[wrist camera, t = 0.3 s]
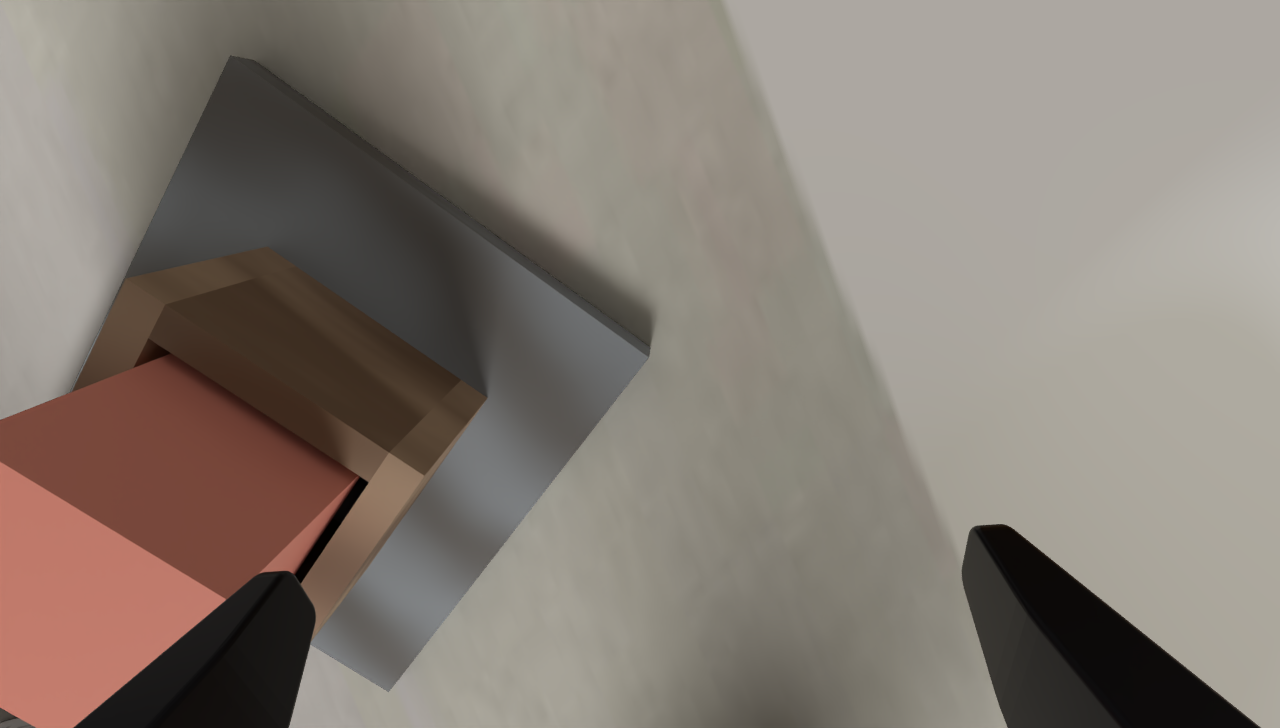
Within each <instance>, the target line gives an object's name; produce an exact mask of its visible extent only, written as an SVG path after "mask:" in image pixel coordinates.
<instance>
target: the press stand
mask: <svg viewBox="0 0 1280 728" xmlns="http://www.w3.org/2000/svg"><path fill="white" fill-rule="evenodd" d="M171 353H172V354H173V355H175V356H176V357H178V358H179V359H181V360H182V361H184V362H185V363H187V364H188V365H190V366H192V367H193V368H195V369H196V370H198V371H199V372H201V373H202V374H204V375H205V376H207V377H208V378H210V379H211V380H213V381H215V382H216V383H218V384H219V385H221V386H222V387H224V388H225V389H227V390H228V391H230V392H231V393H233V394H234V395H236V396H238V397H239V398H241V399H242V400H244V401H245V402H247V403H248V404H250V405H251V406H253V407H254V408H256V409H257V410H259V411H261V412H262V413H264V414H265V415H267V416H268V417H270V418H271V419H273V420H274V421H276V422H277V423H279V424H280V425H282V426H284V427H285V428H287V429H288V430H290V431H291V432H293V433H294V434H296V435H297V436H299V437H300V438H302V439H303V440H305V441H307V442H308V443H310V444H311V445H313V446H314V447H316V448H317V449H319V450H320V451H322V452H323V453H325V454H326V455H328V456H329V457H331V458H333V459H334V460H336V461H337V462H339V463H340V464H342V465H343V466H345V467H346V468H348V469H349V470H351V471H352V472H354V473H356V474H357V475H359V476H360V478H359V479H358V481H357V482H356V484H355V485H354V487H353V488H352V490H351V491H350V493H349V494H348V496H347V497H346V499H345V500H344V502H343V503H342V505H341V506H340V508H339V509H338V511H337V512H336V514H335V515H334V517H333V518H332V520H331V521H330V523H329V524H328V526H327V527H326V529H325V530H324V532H323V533H322V535H321V536H320V538H319V539H318V541H317V542H316V544H315V546H314V547H313V549H312V550H311V552H310V553H309V555H308V556H307V558H306V559H305V561H304V562H303V564H302V565H301V567H300V568H299V570H298V571H297V573H296V574H295V576H296V578H297V580H298V581H299V583H300V584H301V586H302V587H303V589H304V591H305V592H306V594H307V595H308V597H309V599H310V600H311V602H312V603H313V605H314V608H315V611H316V623H315V628H314V632H313V636H312V640H311V645H312V646H314V647H316V648H317V649H319V650H321V651H322V652H324V653H325V654H327V655H329V656H330V657H332V658H334V659H335V660H337V661H339V662H340V663H342V664H344V665H345V666H347V667H348V668H350V669H352V670H353V671H355V672H357V673H358V674H360V675H362V676H363V677H365V678H366V679H368V680H370V681H371V682H373V683H375V684H376V685H378V686H380V687H381V688H383V689H384V690H386V691H388V692H389V691H390V690H391V689H392V687H393V686H394V685H395V683H396V682H397V681H398V680H399V678H400V677H401V676H402V674H403V673H404V672H405V671H406V669H407V668H408V667H409V665H410V664H411V663H412V662H413V660H414V659H415V658H416V656H417V655H418V654H419V653H420V651H421V650H422V649H423V647H424V646H425V645H426V643H427V642H428V641H429V640H430V638H431V637H432V636H433V634H434V633H435V632H436V631H437V629H438V628H439V627H440V625H441V624H442V623H443V622H444V620H445V619H446V618H447V616H448V615H449V614H450V613H451V611H452V610H453V609H454V607H455V606H456V605H457V604H458V602H459V601H460V600H461V598H462V597H463V596H464V595H465V593H466V592H467V591H468V589H469V588H470V587H471V586H472V584H473V583H474V582H475V580H476V579H477V578H478V577H479V575H480V574H481V573H482V571H483V570H484V569H485V568H486V566H487V565H488V564H489V562H490V561H491V560H492V559H493V557H494V556H495V555H496V553H497V552H498V551H499V550H500V548H501V547H502V546H503V544H504V543H505V542H506V541H507V539H508V538H509V537H510V535H511V534H512V533H513V532H514V530H515V529H516V528H517V526H518V525H519V524H520V523H521V521H522V520H523V519H524V517H525V516H526V515H527V514H528V512H529V511H530V510H531V508H532V507H533V506H534V505H535V503H536V502H537V501H538V499H539V498H540V497H541V496H542V494H543V493H544V492H545V490H546V489H547V488H548V487H549V485H550V484H551V483H552V481H553V480H554V479H555V477H556V476H557V475H558V474H559V472H560V471H561V470H562V468H563V467H564V466H565V465H566V463H567V462H568V461H569V459H570V458H571V457H572V456H573V454H574V453H575V452H576V450H577V449H578V448H579V447H580V445H581V444H582V443H583V441H584V440H585V439H586V438H587V436H588V435H589V434H590V432H591V431H592V430H593V429H594V427H595V426H596V425H597V423H598V422H599V421H600V420H601V418H602V417H603V416H604V414H605V413H606V412H607V411H608V409H609V408H610V407H611V405H612V404H613V403H614V402H615V400H616V399H617V398H618V396H619V395H620V394H621V393H622V391H623V390H624V389H625V387H626V386H627V385H628V384H629V382H630V381H631V380H632V378H633V377H634V376H635V375H636V373H637V372H638V371H639V369H640V368H641V367H642V366H643V364H644V363H645V362H646V360H647V359H648V358H649V354H650V347H649V346H648V345H646V344H645V343H643V342H642V341H641V340H639V339H638V338H637V337H635V336H634V335H632V334H631V333H630V332H628V331H627V330H626V329H624V328H623V327H621V326H620V325H619V324H617V323H616V322H614V321H613V320H612V319H610V318H609V317H608V316H606V315H605V314H603V313H602V312H601V311H599V310H598V309H597V308H595V307H594V306H592V305H591V304H590V303H588V302H587V301H585V300H584V299H583V298H581V297H580V296H579V295H577V294H576V293H574V292H573V291H572V290H570V289H569V288H568V287H566V286H565V285H563V284H562V283H561V282H559V281H558V280H556V279H555V278H554V277H552V276H551V275H550V274H548V273H547V272H545V271H544V270H543V269H541V268H540V267H539V266H537V265H536V264H534V263H533V262H532V261H530V260H529V259H527V258H526V257H525V256H523V255H522V254H521V253H519V252H518V251H516V250H515V249H514V248H512V247H511V246H510V245H508V244H507V243H505V242H504V241H503V240H501V239H500V238H498V237H497V236H496V235H494V234H493V233H492V232H490V231H489V230H487V229H486V228H485V227H483V226H482V225H481V224H479V223H478V222H476V221H475V220H474V219H472V218H471V217H470V216H468V215H467V214H465V213H464V212H463V211H461V210H460V209H458V208H457V207H456V206H454V205H453V204H452V203H450V202H449V201H447V200H446V199H445V198H443V197H442V196H441V195H439V194H438V193H436V192H435V191H434V190H432V189H431V188H429V187H428V186H427V185H425V184H424V183H423V182H421V181H420V180H418V179H417V178H416V177H414V176H413V175H412V174H410V173H409V172H407V171H406V170H405V169H403V168H402V167H400V166H399V165H398V164H396V163H395V162H394V161H392V160H391V159H389V158H388V157H387V156H385V155H384V154H383V153H381V152H380V151H378V150H377V149H376V148H374V147H373V146H371V145H370V144H369V143H367V142H366V141H365V140H363V139H362V138H360V137H359V136H358V135H356V134H355V133H354V132H352V131H351V130H349V129H348V128H347V127H345V126H344V125H342V124H341V123H340V122H338V121H337V120H336V119H334V118H333V117H331V116H330V115H329V114H327V113H326V112H325V111H323V110H322V109H320V108H319V107H318V106H316V105H315V104H313V103H312V102H311V101H309V100H308V99H307V98H305V97H304V96H302V95H301V94H300V93H298V92H297V91H296V90H294V89H293V88H291V87H290V86H289V85H287V84H286V83H284V82H283V81H282V80H280V79H279V78H278V77H276V76H275V75H273V74H272V73H271V72H269V71H268V70H267V69H265V68H264V67H262V66H261V65H260V64H258V63H257V62H256V61H254V60H249V59H245V58H240V57H235V56H230V57H229V60H228V62H227V64H226V66H225V68H224V70H223V72H222V74H221V76H220V78H219V81H218V83H217V85H216V87H215V89H214V91H213V93H212V95H211V97H210V99H209V102H208V104H207V106H206V108H205V110H204V112H203V114H202V116H201V118H200V120H199V122H198V125H197V127H196V129H195V131H194V133H193V135H192V137H191V139H190V141H189V143H188V146H187V148H186V150H185V152H184V154H183V156H182V158H181V160H180V162H179V164H178V167H177V169H176V171H175V173H174V175H173V177H172V179H171V181H170V183H169V185H168V187H167V190H166V192H165V194H164V196H163V198H162V200H161V202H160V204H159V206H158V208H157V211H156V213H155V215H154V217H153V219H152V221H151V223H150V225H149V227H148V229H147V232H146V234H145V236H144V238H143V240H142V242H141V244H140V246H139V248H138V250H137V253H136V255H135V257H134V259H133V261H132V263H131V265H130V267H129V269H128V271H127V273H126V276H125V278H124V280H123V282H122V284H121V286H120V288H119V290H118V292H117V294H116V297H115V299H114V301H113V303H112V305H111V307H110V309H109V311H108V313H107V315H106V318H105V320H104V322H103V324H102V326H101V328H100V330H99V332H98V334H97V336H96V338H95V341H94V343H93V345H92V347H91V349H90V351H89V353H88V355H87V357H86V359H85V362H84V364H83V366H82V368H81V370H80V372H79V374H78V376H77V378H76V380H75V383H74V385H73V387H72V389H71V391H70V393H71V392H73V391H76V390H79V389H81V388H84V387H86V386H89V385H91V384H94V383H97V382H99V381H102V380H104V379H107V378H109V377H112V376H114V375H117V374H120V373H122V372H125V371H127V370H130V369H132V368H135V367H138V366H140V365H143V364H145V363H148V362H150V361H153V360H155V359H158V358H161V357H163V356H166V355H168V354H171Z"/></svg>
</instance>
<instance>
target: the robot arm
mask: <svg viewBox="0 0 1280 728" xmlns="http://www.w3.org/2000/svg"><path fill="white" fill-rule="evenodd" d="M962 581H963V586H964V590H965V593H966V596H967V600H968V603H969V607H970V610H971V613H972V617H973V620H974V623H975V627H976V630H977V634H978V637H979V640H980V644H981V647H982V650H983V654H984V657H985V660H986V664H987V667H988V671H989V674H990V677H991V681H992V684H993V687H994V690H995V694H996V697H997V700H998V703H999V706H1000V709H1001V711H1002V714H1003V716H1004V719H1005V722H1006V724H1007V727H1008V728H1260V727H1259V726H1258V725H1257V724H1255V723H1254V722H1253V721H1252V720H1251V719H1249V718H1248V717H1247V716H1245V715H1244V714H1243V713H1242V712H1241V711H1239V710H1238V709H1237V708H1236V707H1234V706H1233V705H1232V704H1231V703H1229V702H1228V701H1227V700H1226V699H1224V698H1223V697H1222V696H1221V695H1219V694H1218V693H1217V692H1216V691H1214V690H1213V689H1212V688H1211V687H1209V686H1208V685H1207V684H1206V683H1204V682H1203V681H1202V680H1201V679H1199V678H1198V677H1197V676H1196V675H1195V674H1193V673H1192V672H1191V671H1189V670H1188V669H1187V668H1186V667H1184V666H1183V665H1182V664H1181V663H1179V662H1178V661H1177V660H1176V659H1175V658H1173V657H1172V656H1171V655H1169V654H1168V653H1167V652H1166V651H1165V650H1163V649H1162V648H1161V647H1160V646H1158V645H1157V644H1156V643H1155V642H1153V641H1152V640H1151V639H1150V638H1148V637H1147V636H1146V635H1145V634H1143V633H1142V632H1141V631H1140V630H1138V629H1137V628H1136V627H1135V626H1133V625H1132V624H1131V623H1130V622H1129V621H1127V620H1126V619H1125V618H1124V617H1122V616H1121V615H1120V614H1119V613H1117V612H1116V611H1115V610H1113V609H1112V608H1111V607H1110V606H1109V605H1107V604H1106V603H1105V602H1103V601H1102V600H1101V599H1100V598H1099V597H1097V596H1096V595H1095V594H1094V593H1092V592H1091V591H1090V590H1089V589H1087V588H1086V587H1085V586H1084V585H1082V584H1081V583H1080V582H1079V581H1077V580H1076V579H1075V578H1074V577H1073V576H1071V575H1070V574H1069V573H1068V572H1066V571H1065V570H1064V569H1063V568H1061V567H1060V566H1059V565H1058V564H1056V563H1055V562H1054V561H1053V560H1051V559H1050V558H1049V557H1048V556H1046V555H1045V554H1044V553H1042V552H1041V551H1040V550H1039V549H1038V548H1036V547H1035V546H1034V545H1033V544H1031V543H1030V542H1029V541H1028V540H1026V539H1025V538H1024V537H1023V536H1021V535H1020V534H1019V533H1018V532H1016V531H1015V530H1014V529H1012V528H1011V527H1009V526H1007V525H1003V524H996V525H981V526H975V527H973V528H972V529H971V530H970V532H969V536H968V541H967V545H966V551H965V555H964V560H963V565H962ZM315 623H316V611H315V608H314V605H313V603H312V602H311V600H310V599H309V597H308V595H307V594H306V592H305V591H304V589H303V587H302V586H301V584H300V583H299V581H298V580H297V578H296V576H295V575H294V574H293V573H291V572H289V571H272V572H263V573H260V574H257V575H256V576H254V577H253V578H252V579H250V580H249V581H248V582H247V583H246V584H244V585H243V586H242V587H241V588H240V589H238V590H237V591H236V592H235V593H234V594H232V595H231V596H230V597H229V598H228V599H226V600H225V601H224V602H223V603H222V604H220V605H219V606H218V607H217V608H216V609H214V610H213V611H212V612H211V613H210V614H208V615H207V616H206V617H205V618H204V619H203V620H201V621H200V622H199V623H198V624H197V625H195V626H194V627H193V628H192V629H191V630H189V631H188V632H187V633H186V634H185V635H183V636H182V637H181V638H180V639H179V640H177V641H176V642H175V643H174V644H173V645H171V646H170V647H169V648H168V649H167V650H165V651H164V652H163V653H162V654H161V655H159V656H158V657H157V658H156V659H155V660H153V661H152V662H151V663H150V664H149V665H147V666H146V667H145V668H144V669H143V670H141V671H140V672H139V673H138V674H137V675H135V676H134V677H133V678H132V679H131V680H129V681H128V682H127V683H126V684H125V685H124V686H122V687H121V688H120V689H119V690H118V691H116V692H115V693H114V694H113V695H112V696H110V697H109V698H108V699H107V700H106V701H104V702H103V703H102V704H101V705H100V706H98V707H97V708H96V709H95V710H94V711H92V712H91V713H90V714H89V715H88V716H86V717H85V718H84V719H83V720H82V721H80V722H79V723H78V724H77V725H76V726H74V727H73V728H289V725H290V721H291V718H292V714H293V710H294V706H295V702H296V698H297V694H298V691H299V687H300V683H301V679H302V675H303V671H304V667H305V663H306V659H307V655H308V651H309V648H310V644H311V640H312V636H313V632H314V628H315Z"/></svg>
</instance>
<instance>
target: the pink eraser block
mask: <svg viewBox="0 0 1280 728" xmlns="http://www.w3.org/2000/svg"><path fill="white" fill-rule="evenodd" d="M359 478H360V476H359V475H357V474H356V473H354V472H352V471H351V470H349V469H348V468H346V467H345V466H343V465H342V464H340V463H339V462H337V461H336V460H334V459H333V458H331V457H329V456H328V455H326V454H325V453H323V452H322V451H320V450H319V449H317V448H316V447H314V446H313V445H311V444H310V443H308V442H307V441H305V440H303V439H302V438H300V437H299V436H297V435H296V434H294V433H293V432H291V431H290V430H288V429H287V428H285V427H284V426H282V425H280V424H279V423H277V422H276V421H274V420H273V419H271V418H270V417H268V416H267V415H265V414H264V413H262V412H261V411H259V410H257V409H256V408H254V407H253V406H251V405H250V404H248V403H247V402H245V401H244V400H242V399H241V398H239V397H238V396H236V395H234V394H233V393H231V392H230V391H228V390H227V389H225V388H224V387H222V386H221V385H219V384H218V383H216V382H215V381H213V380H211V379H210V378H208V377H207V376H205V375H204V374H202V373H201V372H199V371H198V370H196V369H195V368H193V367H192V366H190V365H188V364H187V363H185V362H184V361H182V360H181V359H179V358H178V357H176V356H175V355H173V354H172V353H171V354H168V355H166V356H163V357H161V358H158V359H155V360H153V361H150V362H148V363H145V364H143V365H140V366H138V367H135V368H132V369H130V370H127V371H125V372H122V373H120V374H117V375H114V376H112V377H109V378H107V379H104V380H102V381H99V382H97V383H94V384H91V385H89V386H86V387H84V388H81V389H79V390H76V391H73V392H71V393H68V394H66V395H63V396H61V397H58V398H56V399H53V400H50V401H48V402H45V403H43V404H40V405H38V406H35V407H33V408H30V409H27V410H25V411H22V412H20V413H17V414H15V415H12V416H9V417H7V418H4V419H2V420H0V708H2V709H4V710H5V711H7V712H9V713H11V714H12V715H14V716H16V717H18V718H20V719H21V720H23V721H25V722H27V723H29V724H30V725H32V726H34V727H36V728H73V727H74V726H76V725H77V724H78V723H79V722H80V721H82V720H83V719H84V718H85V717H86V716H88V715H89V714H90V713H91V712H92V711H94V710H95V709H96V708H97V707H98V706H100V705H101V704H102V703H103V702H104V701H106V700H107V699H108V698H109V697H110V696H112V695H113V694H114V693H115V692H116V691H118V690H119V689H120V688H121V687H122V686H124V685H125V684H126V683H127V682H128V681H129V680H131V679H132V678H133V677H134V676H135V675H137V674H138V673H139V672H140V671H141V670H143V669H144V668H145V667H146V666H147V665H149V664H150V663H151V662H152V661H153V660H155V659H156V658H157V657H158V656H159V655H161V654H162V653H163V652H164V651H165V650H167V649H168V648H169V647H170V646H171V645H173V644H174V643H175V642H176V641H177V640H179V639H180V638H181V637H182V636H183V635H185V634H186V633H187V632H188V631H189V630H191V629H192V628H193V627H194V626H195V625H197V624H198V623H199V622H200V621H201V620H203V619H204V618H205V617H206V616H207V615H208V614H210V613H211V612H212V611H213V610H214V609H216V608H217V607H218V606H219V605H220V604H222V603H223V602H224V601H225V600H226V599H228V598H229V597H230V596H231V595H232V594H234V593H235V592H236V591H237V590H238V589H240V588H241V587H242V586H243V585H244V584H246V583H247V582H248V581H249V580H250V579H252V578H253V577H254V576H256V575H257V574H260V573H263V572H272V571H289V572H291V573H293V574H294V575H295V574H296V573H297V571H298V570H299V568H300V567H301V565H302V564H303V562H304V561H305V559H306V558H307V556H308V555H309V553H310V552H311V550H312V549H313V547H314V546H315V544H316V542H317V541H318V539H319V538H320V536H321V535H322V533H323V532H324V530H325V529H326V527H327V526H328V524H329V523H330V521H331V520H332V518H333V517H334V515H335V514H336V512H337V511H338V509H339V508H340V506H341V505H342V503H343V502H344V500H345V499H346V497H347V496H348V494H349V493H350V491H351V490H352V488H353V487H354V485H355V484H356V482H357V481H358V479H359Z"/></svg>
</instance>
